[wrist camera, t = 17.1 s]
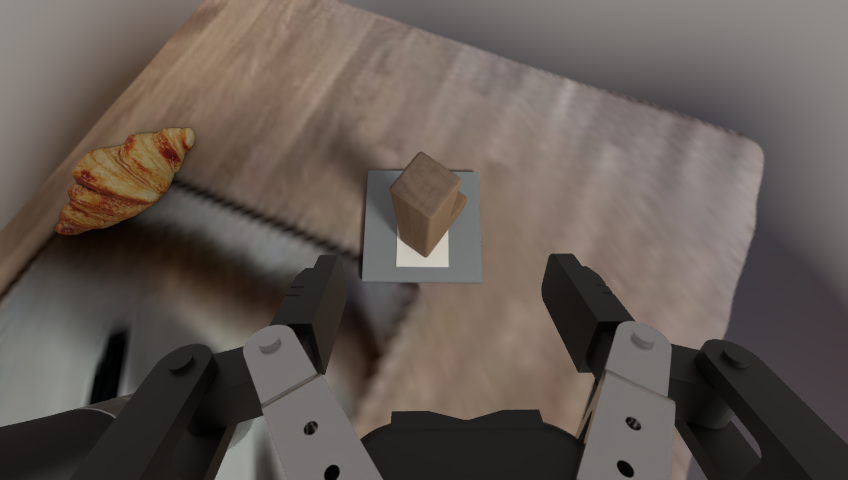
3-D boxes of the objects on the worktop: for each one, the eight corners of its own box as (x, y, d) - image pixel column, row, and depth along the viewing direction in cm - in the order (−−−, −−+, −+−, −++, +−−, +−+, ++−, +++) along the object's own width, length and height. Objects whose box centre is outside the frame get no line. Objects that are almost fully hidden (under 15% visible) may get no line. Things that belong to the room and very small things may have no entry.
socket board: (363, 282, 43) (361, 280, 42) (369, 173, 47) (367, 169, 46) (480, 283, 44) (482, 282, 42) (476, 175, 47) (478, 171, 46)
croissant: (201, 137, 52) (152, 95, 46) (221, 155, 46) (168, 108, 40) (88, 232, 48) (16, 199, 41) (95, 264, 42) (13, 232, 35)
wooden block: (438, 190, 45) (450, 110, 28) (464, 208, 45) (493, 138, 27) (399, 240, 43) (387, 187, 26) (426, 259, 43) (431, 219, 25)
